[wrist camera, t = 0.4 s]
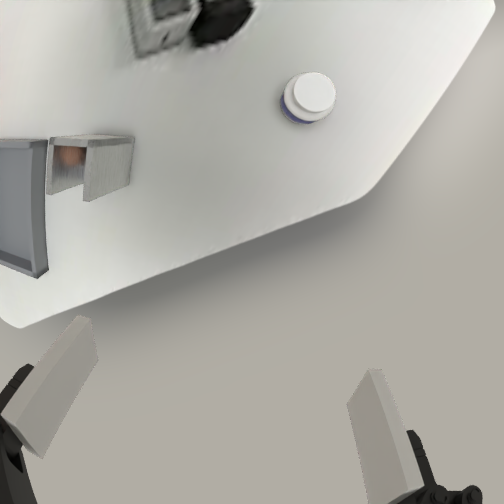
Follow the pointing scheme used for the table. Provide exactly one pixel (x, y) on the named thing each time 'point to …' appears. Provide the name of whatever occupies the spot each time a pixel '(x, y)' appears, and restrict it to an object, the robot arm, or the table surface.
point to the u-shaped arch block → (89, 164)
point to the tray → (23, 206)
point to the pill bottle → (308, 98)
